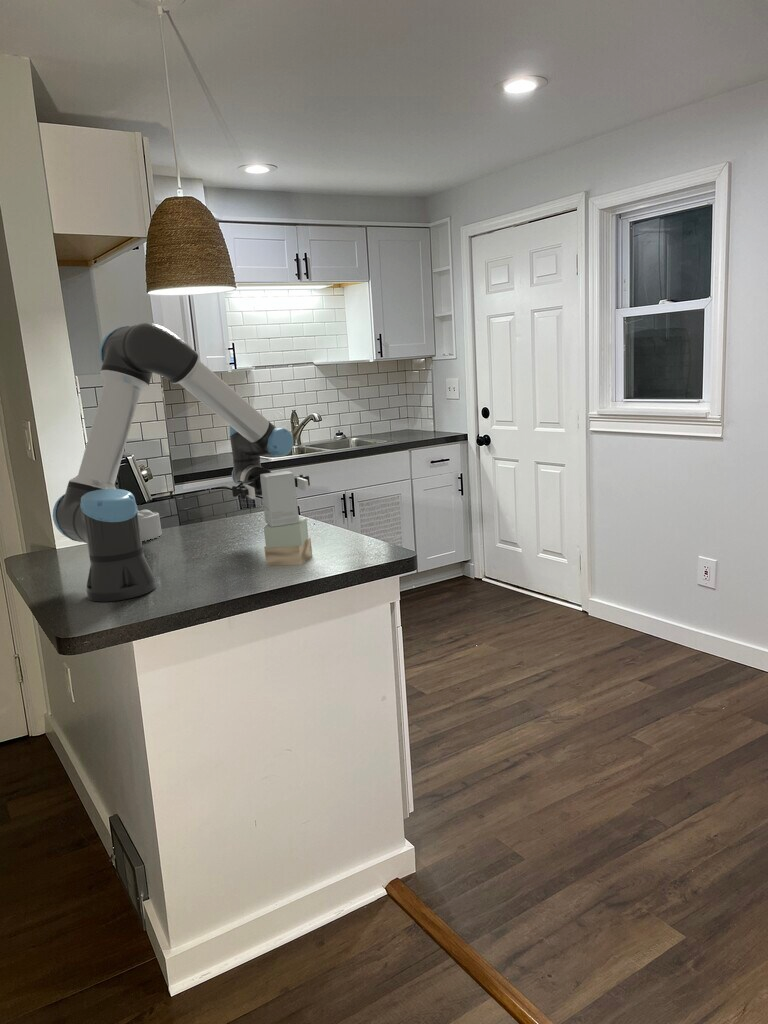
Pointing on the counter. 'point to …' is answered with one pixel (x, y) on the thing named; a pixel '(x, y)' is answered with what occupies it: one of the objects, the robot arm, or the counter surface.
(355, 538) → the counter surface
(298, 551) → the block bottom
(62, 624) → the counter surface
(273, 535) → the block top
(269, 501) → the supplement box
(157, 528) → the white bumpy block
